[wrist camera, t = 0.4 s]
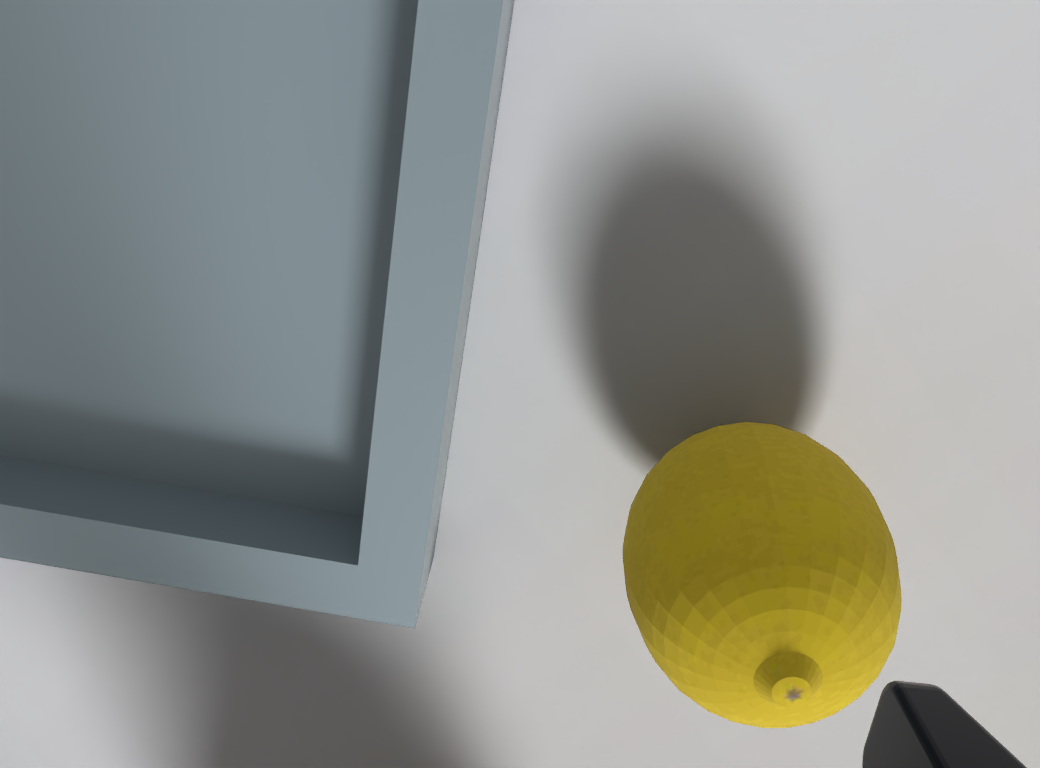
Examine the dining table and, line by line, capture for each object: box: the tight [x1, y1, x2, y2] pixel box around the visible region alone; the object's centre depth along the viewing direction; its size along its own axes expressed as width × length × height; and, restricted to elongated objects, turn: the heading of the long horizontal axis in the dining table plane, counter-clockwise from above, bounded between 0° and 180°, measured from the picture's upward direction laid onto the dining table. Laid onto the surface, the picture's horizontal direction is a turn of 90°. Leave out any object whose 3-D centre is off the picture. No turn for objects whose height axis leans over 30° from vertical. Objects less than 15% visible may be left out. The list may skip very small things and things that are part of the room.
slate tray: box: [0, 0, 514, 628], centre depth 20 cm, size 18×18×3 cm
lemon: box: [623, 422, 901, 728], centre depth 20 cm, size 6×6×8 cm
